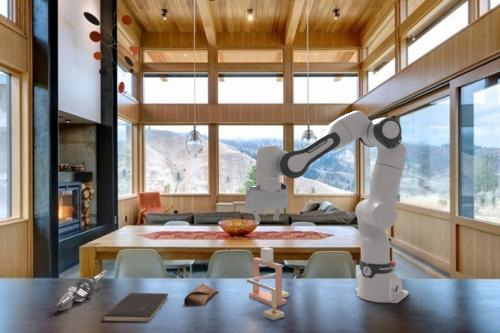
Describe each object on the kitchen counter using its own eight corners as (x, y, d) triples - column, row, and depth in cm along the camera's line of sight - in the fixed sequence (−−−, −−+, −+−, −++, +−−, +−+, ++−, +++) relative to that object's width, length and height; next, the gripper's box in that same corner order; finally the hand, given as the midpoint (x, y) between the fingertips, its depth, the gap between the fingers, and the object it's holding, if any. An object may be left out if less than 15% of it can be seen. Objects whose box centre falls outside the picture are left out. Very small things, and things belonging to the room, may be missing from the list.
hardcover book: (168, 299, 139) (168, 293, 139) (149, 323, 116) (149, 316, 116) (128, 298, 139) (128, 292, 139) (102, 322, 116) (102, 315, 116)
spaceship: (117, 266, 156) (101, 259, 157) (71, 302, 121) (51, 293, 122) (111, 282, 157) (95, 275, 157) (64, 322, 122) (44, 313, 123)
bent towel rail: (280, 293, 145) (280, 270, 145) (315, 306, 130) (315, 280, 130) (239, 304, 132) (239, 278, 132) (273, 320, 117) (273, 291, 117)
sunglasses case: (205, 306, 129) (196, 290, 130) (189, 315, 131) (181, 298, 132) (219, 291, 147) (211, 277, 148) (205, 298, 148) (198, 284, 149)
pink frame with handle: (260, 293, 145) (260, 244, 145) (285, 303, 133) (285, 250, 134) (249, 296, 141) (249, 246, 142) (274, 307, 129) (274, 252, 130)
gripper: (251, 186, 130) (251, 223, 129) (290, 185, 142) (290, 219, 142) (241, 185, 135) (241, 222, 134) (280, 185, 147) (280, 218, 147)
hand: (267, 220), depth 138 cm, fingers open, 8 cm apart
